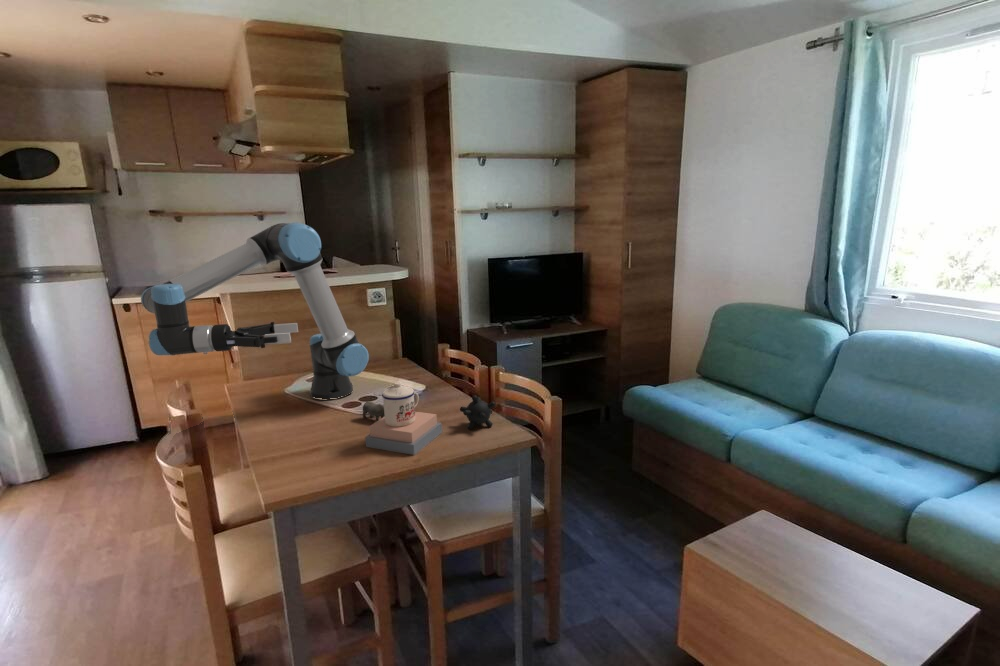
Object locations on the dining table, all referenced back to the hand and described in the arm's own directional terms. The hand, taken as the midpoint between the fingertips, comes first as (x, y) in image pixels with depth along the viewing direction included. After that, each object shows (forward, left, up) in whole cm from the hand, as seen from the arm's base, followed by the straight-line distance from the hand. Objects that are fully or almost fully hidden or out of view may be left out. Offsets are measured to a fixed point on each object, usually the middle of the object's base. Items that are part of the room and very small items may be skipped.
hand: (294, 332), depth 152 cm
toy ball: (-23, +46, -32) cm, 61 cm away
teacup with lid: (-8, +30, -26) cm, 41 cm away
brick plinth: (-7, +30, -32) cm, 45 cm away
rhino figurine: (-17, +15, -32) cm, 39 cm away
